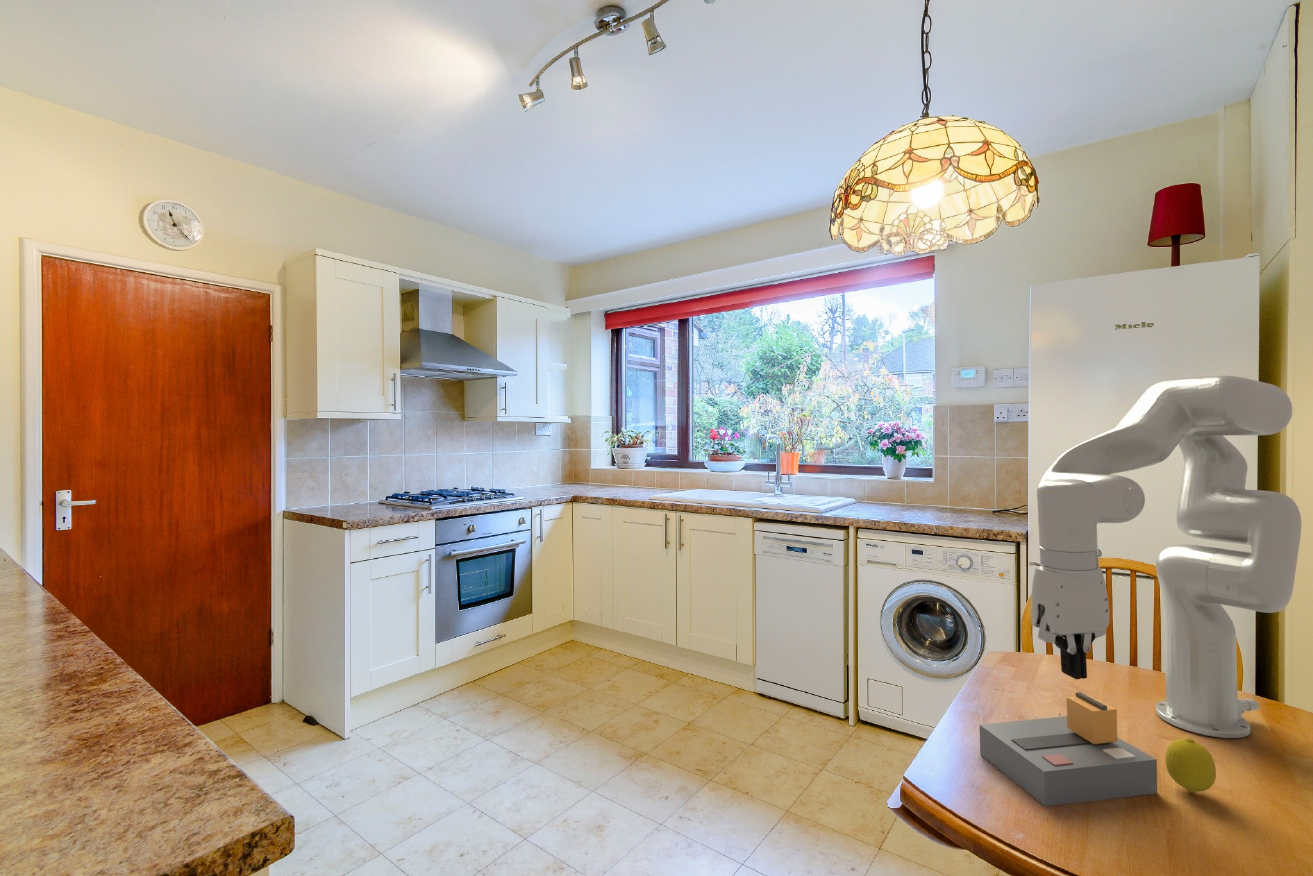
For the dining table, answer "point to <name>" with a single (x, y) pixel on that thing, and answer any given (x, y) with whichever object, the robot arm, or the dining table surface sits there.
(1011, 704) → the dining table surface
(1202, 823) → the dining table surface
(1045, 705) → the dining table surface
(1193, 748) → the lemon
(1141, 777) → the switch panel
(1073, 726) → the orange block
